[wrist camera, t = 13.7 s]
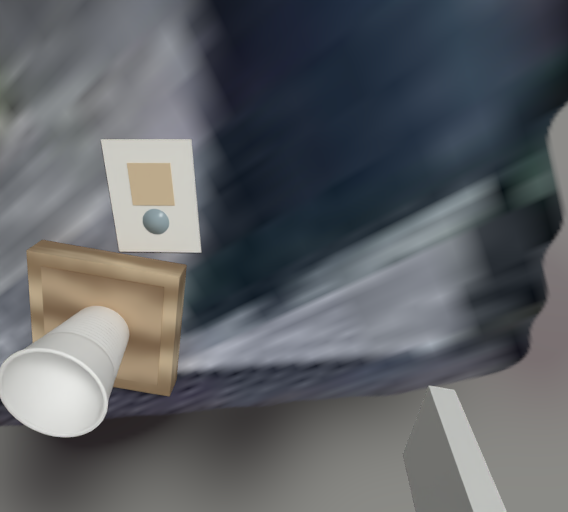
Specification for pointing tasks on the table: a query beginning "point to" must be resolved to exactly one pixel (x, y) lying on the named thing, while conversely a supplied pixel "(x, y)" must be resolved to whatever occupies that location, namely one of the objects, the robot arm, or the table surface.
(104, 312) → the cup
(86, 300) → the plinth block
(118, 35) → the table surface
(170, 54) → the table surface
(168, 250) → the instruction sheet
